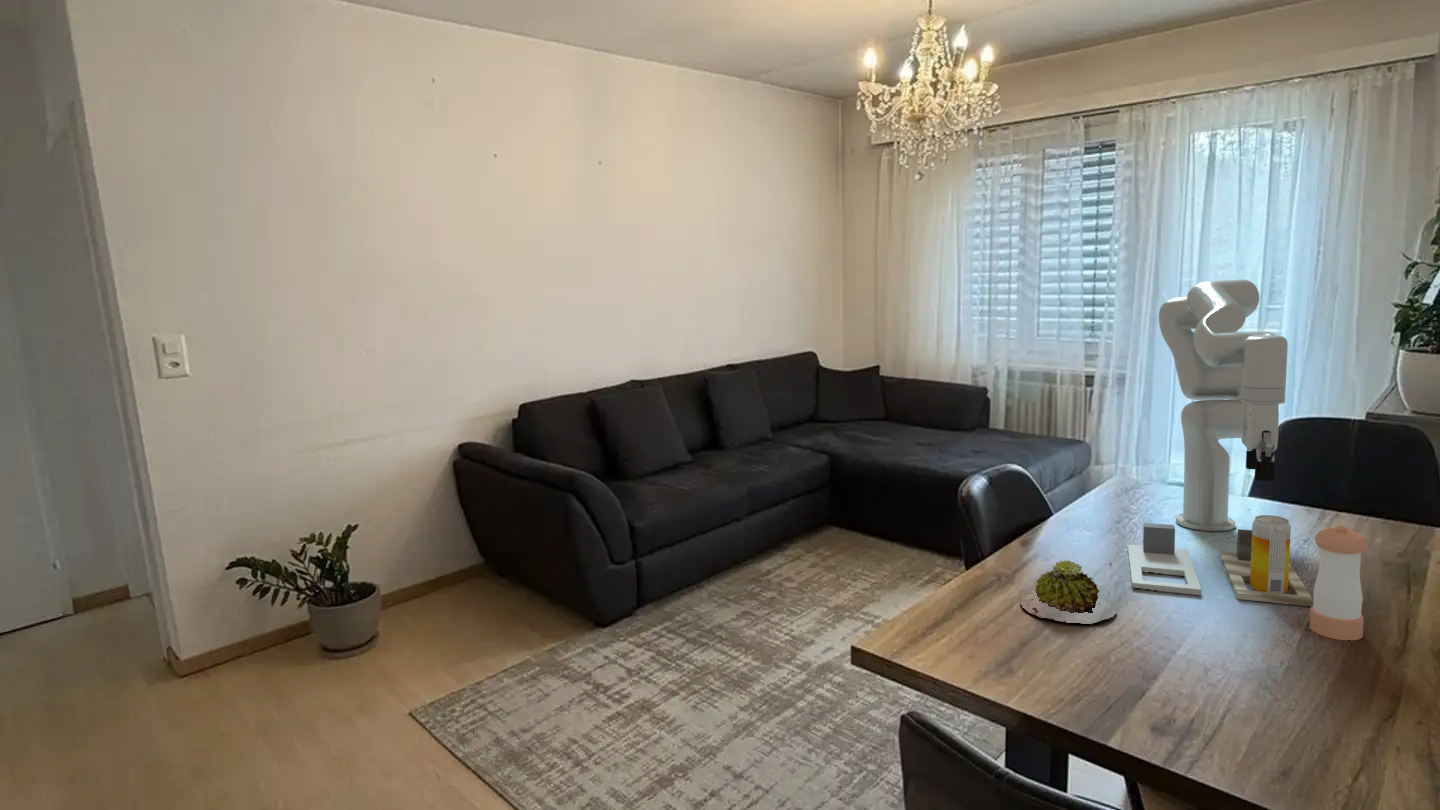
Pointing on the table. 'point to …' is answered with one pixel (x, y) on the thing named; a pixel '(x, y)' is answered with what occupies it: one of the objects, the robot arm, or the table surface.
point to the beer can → (1270, 554)
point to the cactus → (1067, 588)
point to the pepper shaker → (1338, 585)
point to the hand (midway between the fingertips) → (1259, 474)
